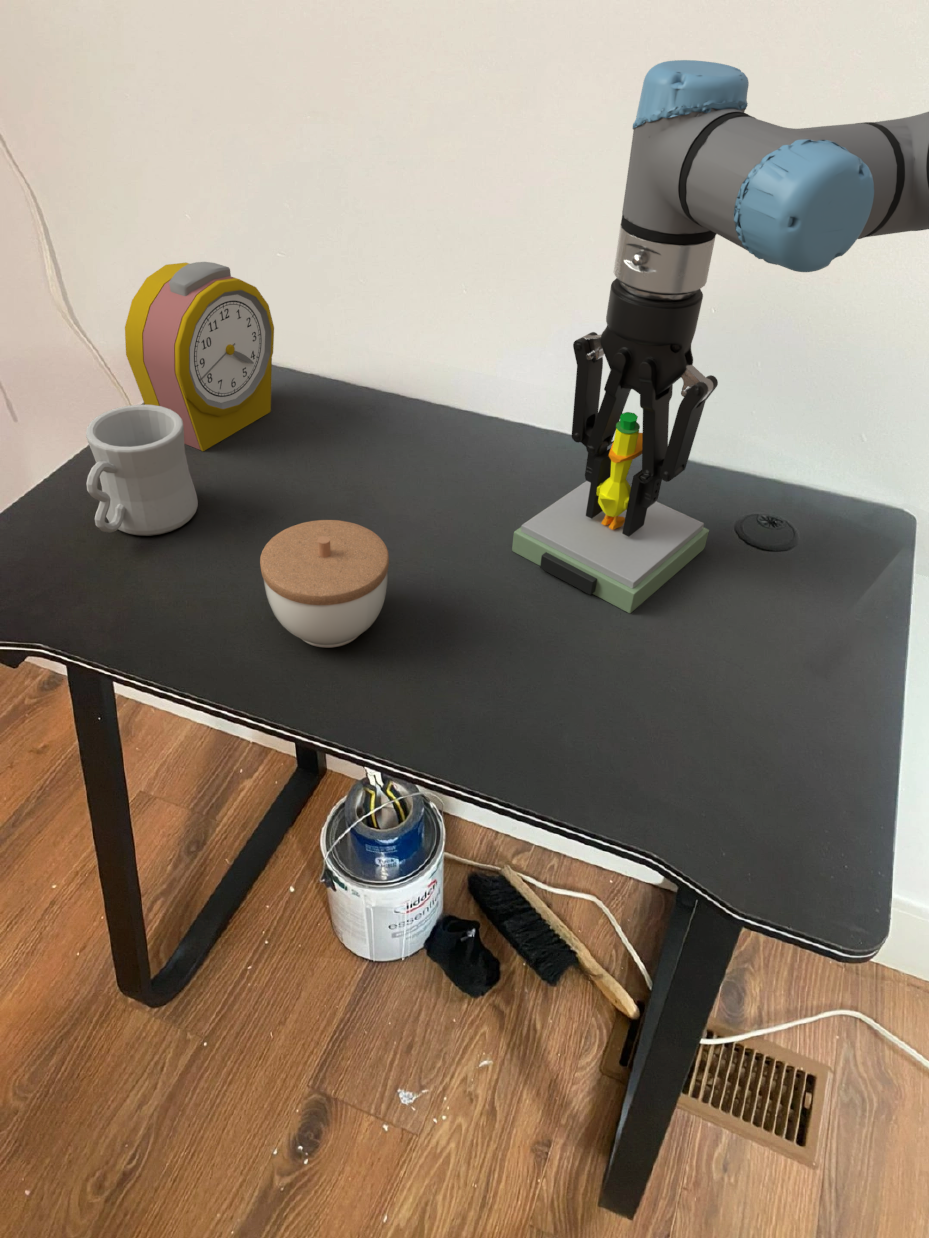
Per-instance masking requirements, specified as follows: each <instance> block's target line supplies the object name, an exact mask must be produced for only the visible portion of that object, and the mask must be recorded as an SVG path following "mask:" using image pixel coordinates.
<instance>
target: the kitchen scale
mask: <svg viewBox="0 0 929 1238" xmlns="http://www.w3.org/2000/svg"><path fill="white" fill-rule="evenodd" d="M590 485H591V483H590V482H588V481H586V480H585V482H582V483H581V484H580V485H578V486H577V487H576V488H574V489H572V490H571V491H570V492H568V493H567V494H565V495H564V496H562V497H560V498H559V499H557V500H556V501H554V502H553V503H552V504H550V505H549V506H548V507H546V508H544V509H543V510H541V511H539V513H537V514H536V515H534V516H533V517H531V518H530V519H529V520H527V521H526V522H524V523H522V524H521V526H520V527H519V528H517V529H516V530H515V531H514V532H513V536H512V537H513V538H512V548H511V552H512V553H515V554H517V555H518V556H520V557H522V558H525V559H526V560H527V561H530V562H532V563H534V564H535V565H537V566H539V568H540V570H542V571H545V572H547V573H549V574H550V575H552V576H554V577H556V578H558V579H560V580H561V581H563V582H565V583H567V584H569V585H571V586H572V587H574V588H577V589H579V590H580V591H582V592H584V593H586V594H588V595H590V596H592V595H594V596H596V597H597V598H599V599H601V600H604V601H606V602H607V603H609V604H611V605H613V606H615V607H617V608H619V609H620V610H622V611H624V612H626V613H628V614H632V613H633V612H634V611H635V610H636V609H638V607H640V606H641V605H642V604H643V603H644V602H645V601H646V600H648V599H649V598H650V597H651V596H652V595H654V593H656V592H657V591H658V590H659V589H660V588H661V587H662V586H664V585H665V584H666V583H667V582H668V581H669V580H671V579H672V578H673V577H674V576H675V575H676V574H677V573H679V572H680V571H681V570H682V569H683V568H684V567H685V566H687V565H688V564H689V563H690V562H691V561H692V560H693V559H694V558H695V557H697V556H698V555H699V554H701V552H703V551H704V550H705V547H706V545H707V541H708V537H709V533H710V529H708V528H706V527H704V526H705V522H702V521H700V520H698V519H696V518H694V517H691V516H689V515H687V514H685V513H682V512H681V511H678V510H676V509H674V508H671V507H670V506H667V505H665V504H663V503H661V502H658V501H656V502H655V503H654V504H652V505H651V506H650V507H649V508H647V512H646V517H645V522H644V525H643V526H642V527H641V528H639V529H638V530H637V531H636V532H634V533H633V534H632V535H630V536H629V537H628V536H626V535H624V534H622V532H623V527H624V524H623V525H622V526H621V527H619V528H616V529H614V530H612V529H610V528H609V525H610V524H611V523H610V524H608V525H606V526H605V525H603V524H601V522H602V521H603V519H604V517H605V515H606V514H605V513H604V512H603V511H602V512H601V513H599V514H598V515H596V516H595V517H594V518H592V519H591V518H589V517H587V516H586V510H587V504H588V497H589V491H590ZM626 511H627V510H625V511H624V512H623V513H621V514H620V515H619V516H621V517H624V518H625V517H626Z"/></svg>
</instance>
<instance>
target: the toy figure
mask: <svg viewBox="0 0 929 1238" xmlns="http://www.w3.org/2000/svg"><path fill="white" fill-rule="evenodd" d="M638 417H639V416H638V415H637V414H636V413H635V412H630V411H626V412H622V414H621V416H620V420H619V422H618V423H617V424H616V431H615V434H614V436H613V441H614V442H613V443H612V444H611V445H610V448H611V449H610V448H609V449H610V452H609V457H610V459H611V476H610V477H609V478H608V479H607V480H606V481H604V482H603V483H600V484H599V486H598V487H597V492H596V493H597V496H599V499H598V503H599V505H600V507H601V508H602V510H603V512H604V513H605V514H606V515H605V517H604V519H603V521H602V522H601V524H603V525H605V526H606V525H608V524H610V523H611V524H610V525H609V528H610V529H612V530H614V529H616V528H619V527H621V526H622V525H623V524H624V522H625V518H624V517H621V516H619V515H620V514H621V513H623V512H624V511H625V510H627V506H628V501H629V496H630V491H631V485H630V483H629V481H628V479H627V477H628V475H629V471H630V469H631V467H632V464H633V461H634V460H636V458H638V457H639V456H642V434H643V432H640V428H641V426H640V423H639V422H637V421H638Z"/></svg>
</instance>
